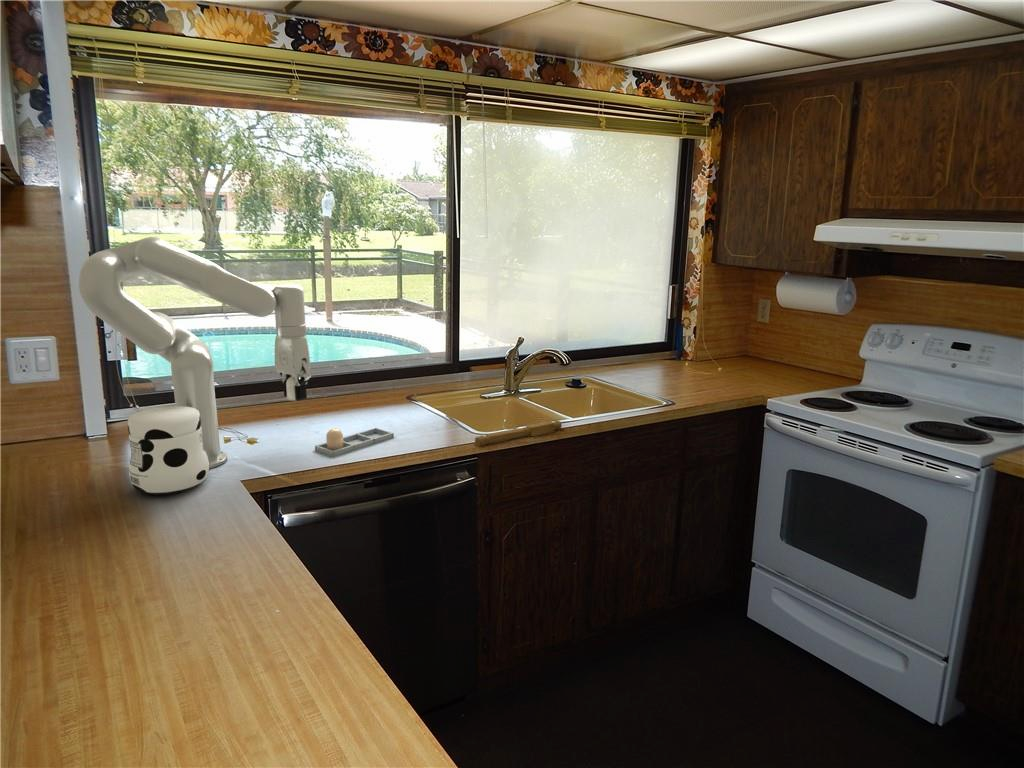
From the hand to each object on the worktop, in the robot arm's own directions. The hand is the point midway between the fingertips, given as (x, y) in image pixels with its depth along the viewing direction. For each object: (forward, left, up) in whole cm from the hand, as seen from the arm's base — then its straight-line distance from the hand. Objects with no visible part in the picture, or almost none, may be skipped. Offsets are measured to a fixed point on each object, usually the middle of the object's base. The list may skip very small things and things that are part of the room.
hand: (295, 396), depth 196 cm
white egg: (0, 0, 0) cm, 0 cm away
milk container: (-35, +1, -16) cm, 38 cm away
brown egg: (+5, -10, -14) cm, 18 cm away
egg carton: (+12, -10, -15) cm, 22 cm away
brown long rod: (+50, -39, -16) cm, 65 cm away
